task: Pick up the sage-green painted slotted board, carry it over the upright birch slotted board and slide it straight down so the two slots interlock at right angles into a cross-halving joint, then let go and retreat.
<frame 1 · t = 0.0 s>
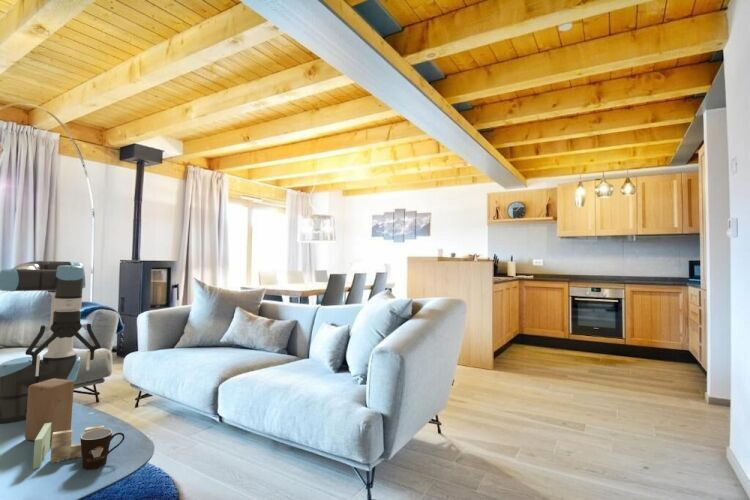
hand: (63, 372, 135), 28 cm above the table, fingers open, 13 cm apart
birch board: (77, 456, 134), on the table
sage board: (41, 458, 132), on the table
coffee mug: (99, 464, 130), on the table
wooden block: (48, 436, 147), on the table
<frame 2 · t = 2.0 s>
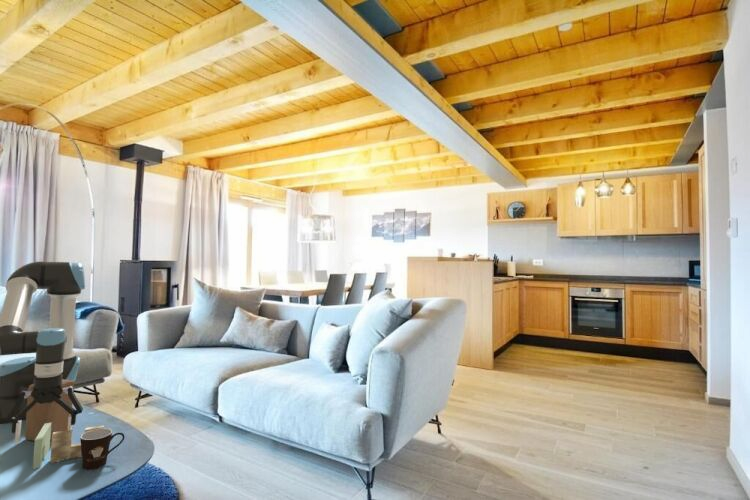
hand: (43, 438, 133), 6 cm above the table, fingers open, 13 cm apart
nothing on the table moved.
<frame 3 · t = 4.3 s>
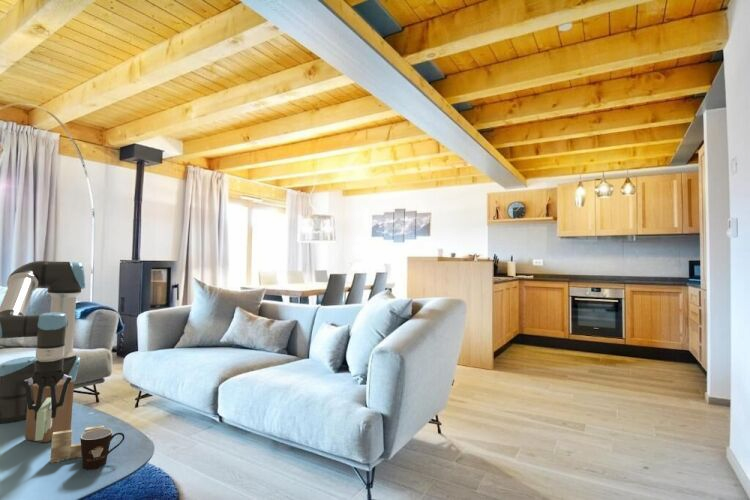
hand: (44, 427, 134), 9 cm above the table, fingers closed on sage board, 2 cm apart
sage board: (43, 431, 132), point 9 cm above the table, touching gripper
everything else where it was.
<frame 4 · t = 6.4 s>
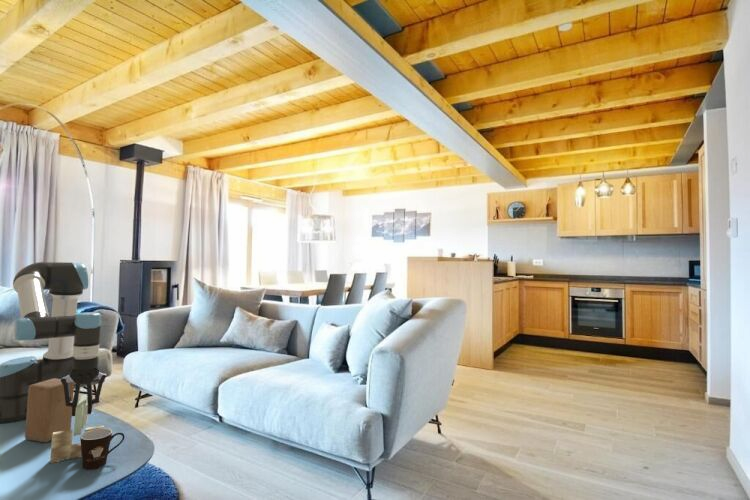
hand: (81, 424, 138), 9 cm above the table, fingers closed on sage board, 2 cm apart
sage board: (80, 427, 137), point 9 cm above the table, touching gripper
everything else where it was.
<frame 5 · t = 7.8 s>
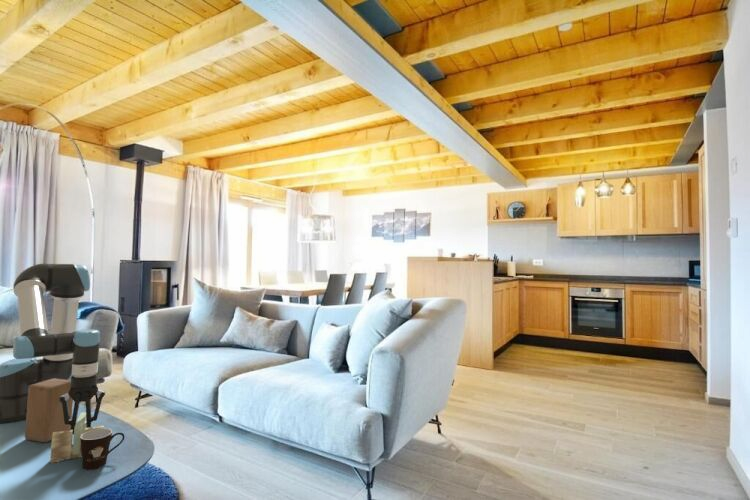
hand: (79, 442, 138), 3 cm above the table, fingers closed on sage board, 2 cm apart
sage board: (79, 445, 137), point 2 cm above the table, touching gripper
everything else where it was.
when the fingers open (0 cm above the table, at t = 8.5 s): sage board stays where it is, on the table.
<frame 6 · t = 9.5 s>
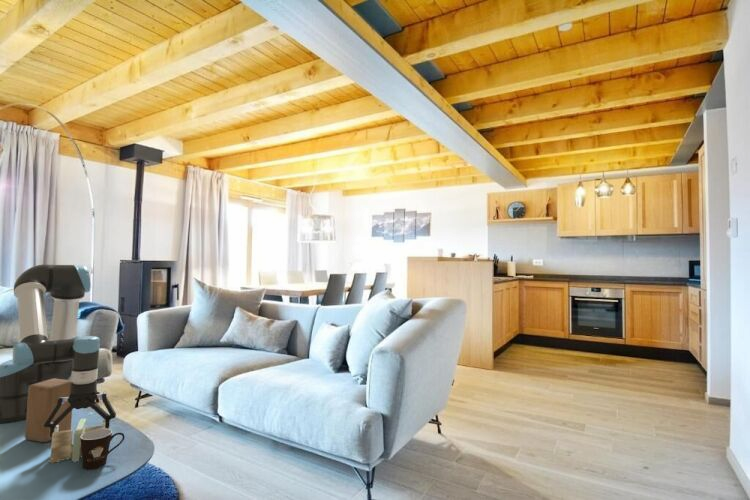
hand: (79, 442, 138), 3 cm above the table, fingers open, 13 cm apart
sage board: (78, 452, 137), on the table
everything else where it was.
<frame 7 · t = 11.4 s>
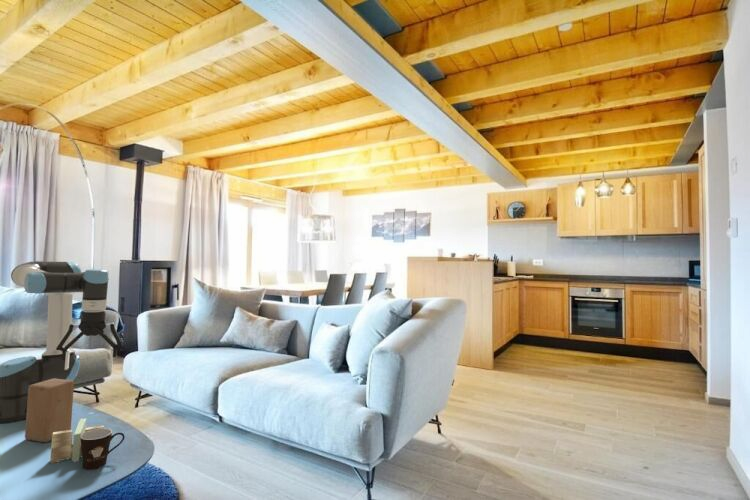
hand: (89, 367, 148), 26 cm above the table, fingers open, 13 cm apart
nothing on the table moved.
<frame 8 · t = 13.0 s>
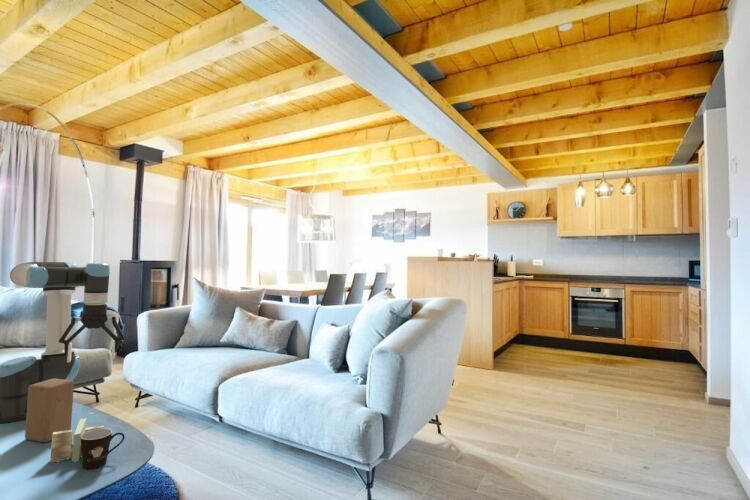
hand: (91, 360, 149), 29 cm above the table, fingers open, 13 cm apart
nothing on the table moved.
at the end: sage board 0.3 cm from the target spot on the table beside the birch board, on the table; sage board tilted 0°; the gripper is holding nothing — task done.
